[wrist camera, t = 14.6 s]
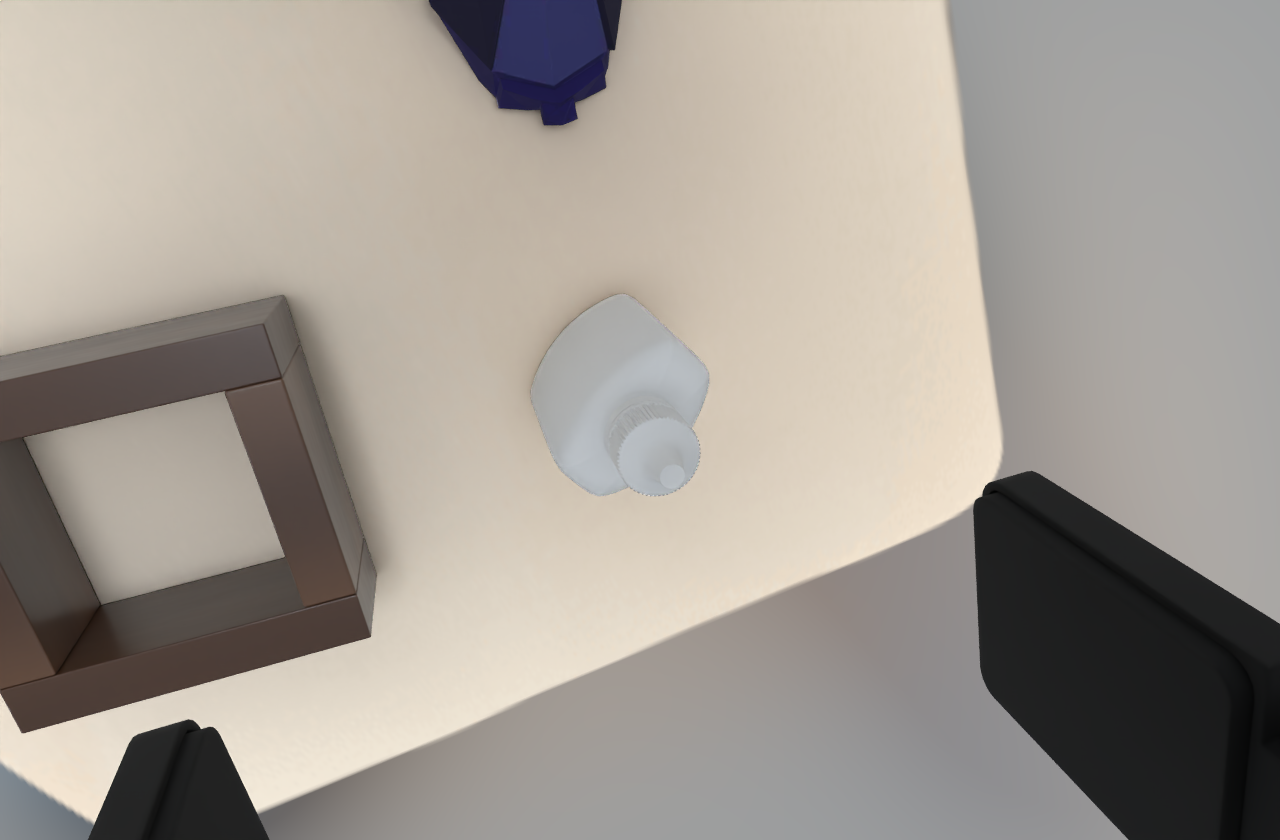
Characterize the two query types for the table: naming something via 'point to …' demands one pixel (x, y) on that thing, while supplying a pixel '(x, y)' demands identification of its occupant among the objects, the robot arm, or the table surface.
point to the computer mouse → (535, 49)
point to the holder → (197, 611)
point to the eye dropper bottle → (621, 401)
